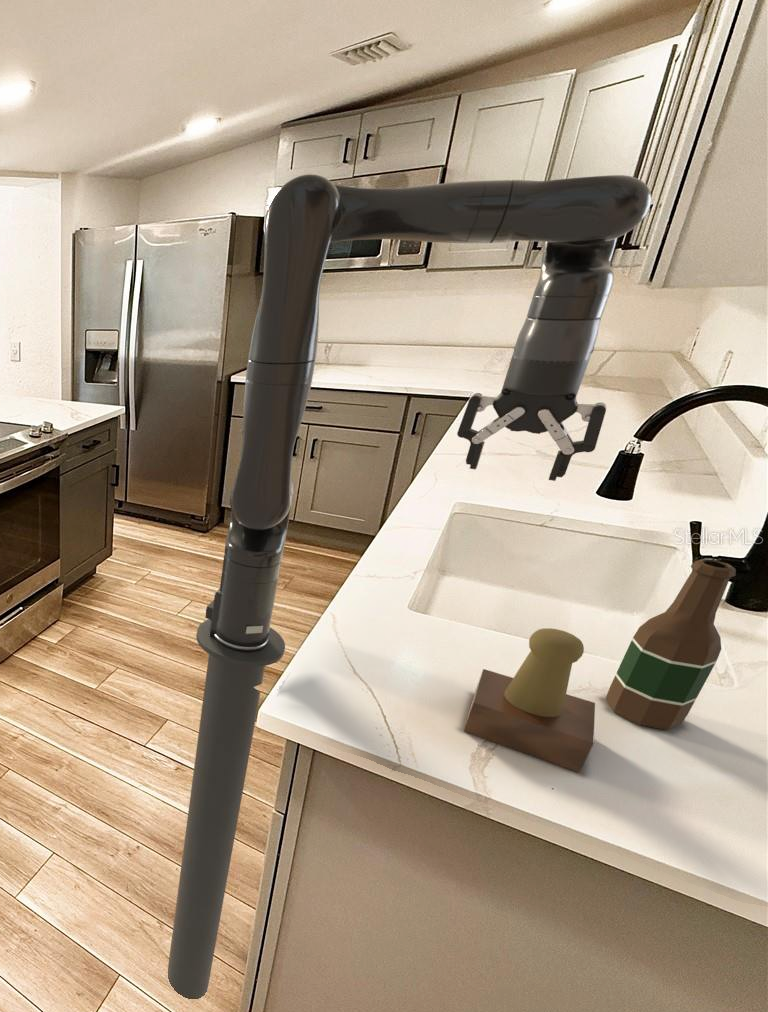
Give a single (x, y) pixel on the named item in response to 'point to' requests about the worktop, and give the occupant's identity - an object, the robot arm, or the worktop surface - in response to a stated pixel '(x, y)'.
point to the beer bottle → (672, 653)
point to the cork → (545, 673)
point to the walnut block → (532, 724)
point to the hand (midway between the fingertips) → (511, 473)
